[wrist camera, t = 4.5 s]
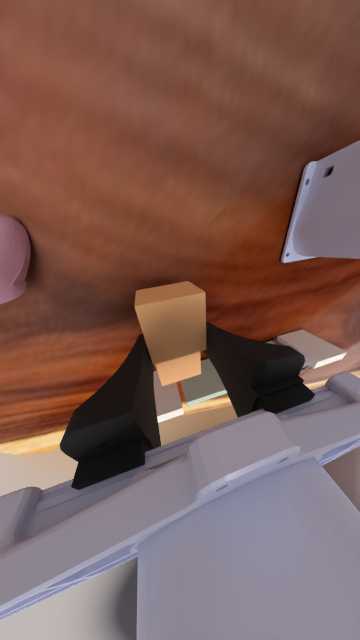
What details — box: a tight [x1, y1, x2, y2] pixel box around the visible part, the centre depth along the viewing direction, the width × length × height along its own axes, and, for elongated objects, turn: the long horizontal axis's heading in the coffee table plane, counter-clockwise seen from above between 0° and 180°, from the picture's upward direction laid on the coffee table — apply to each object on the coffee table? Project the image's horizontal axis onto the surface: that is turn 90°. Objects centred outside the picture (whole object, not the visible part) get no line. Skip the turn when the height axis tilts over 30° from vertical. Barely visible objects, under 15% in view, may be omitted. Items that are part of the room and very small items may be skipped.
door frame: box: [154, 330, 347, 423], centre depth 22 cm, size 2×32×7 cm, turn 97°
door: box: [180, 339, 309, 406], centre depth 22 cm, size 2×20×6 cm, turn 97°
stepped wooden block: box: [134, 281, 206, 386], centre depth 12 cm, size 10×4×4 cm, turn 7°
